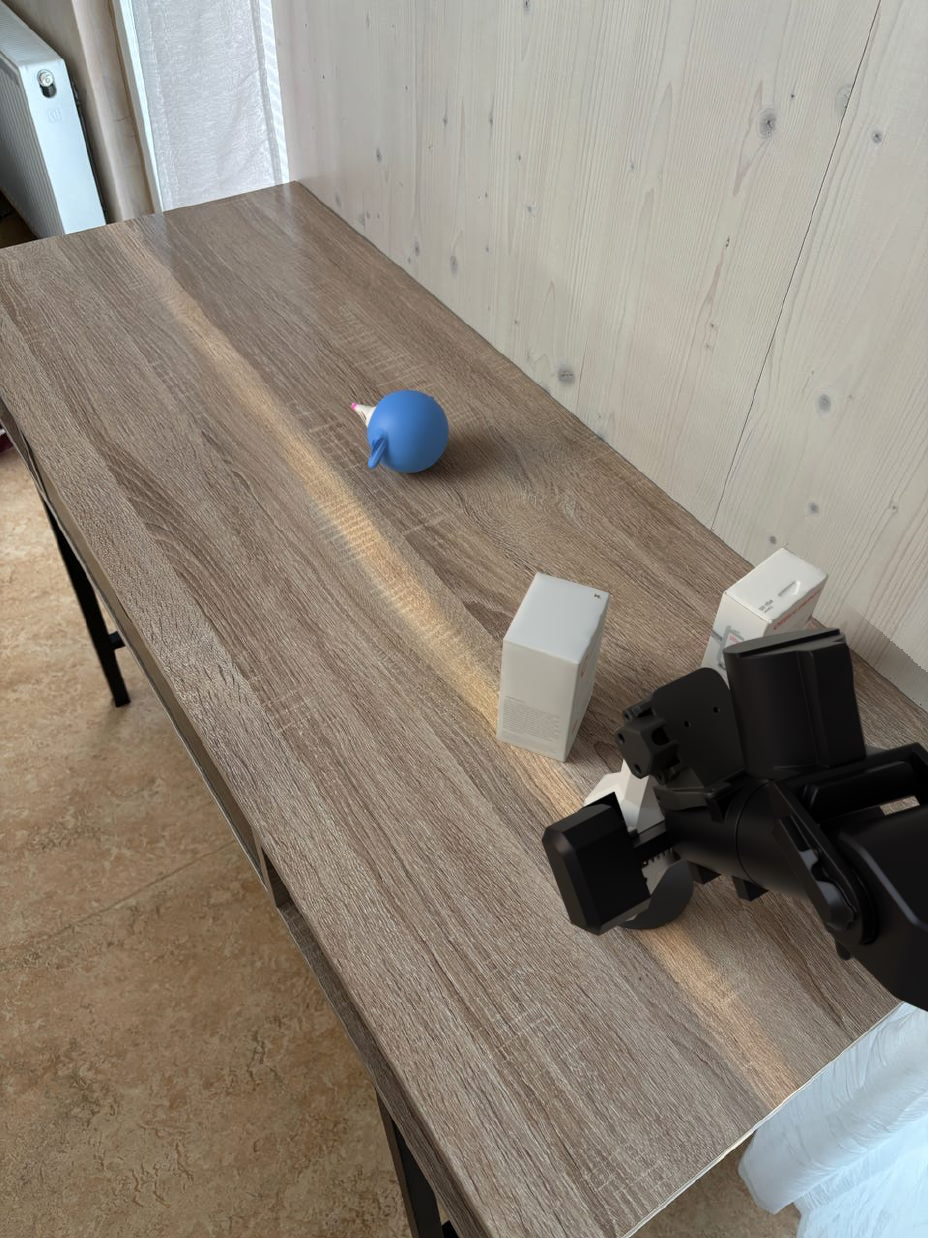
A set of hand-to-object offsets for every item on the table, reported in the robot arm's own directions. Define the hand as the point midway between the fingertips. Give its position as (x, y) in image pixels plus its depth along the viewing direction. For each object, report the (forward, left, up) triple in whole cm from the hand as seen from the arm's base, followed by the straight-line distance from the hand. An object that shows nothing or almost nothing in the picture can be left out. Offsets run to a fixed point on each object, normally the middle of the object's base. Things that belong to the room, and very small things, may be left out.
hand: (623, 794), depth 66 cm
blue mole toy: (+54, -3, -14) cm, 56 cm away
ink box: (+14, -22, -14) cm, 30 cm away
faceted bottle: (-1, 0, -11) cm, 11 cm away
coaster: (0, -3, -13) cm, 14 cm away
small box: (+16, -3, -14) cm, 21 cm away
